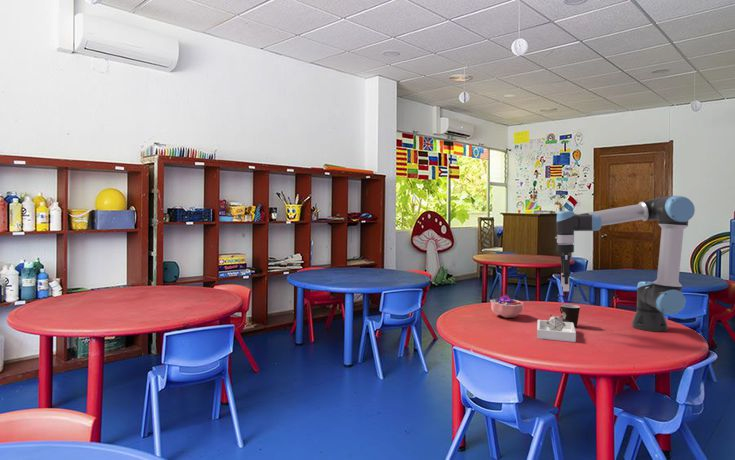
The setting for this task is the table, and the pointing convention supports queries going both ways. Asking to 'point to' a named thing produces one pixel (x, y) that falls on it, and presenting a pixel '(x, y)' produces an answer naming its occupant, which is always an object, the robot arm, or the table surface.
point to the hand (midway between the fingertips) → (565, 288)
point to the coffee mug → (570, 313)
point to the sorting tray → (556, 332)
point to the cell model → (506, 306)
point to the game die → (556, 323)
